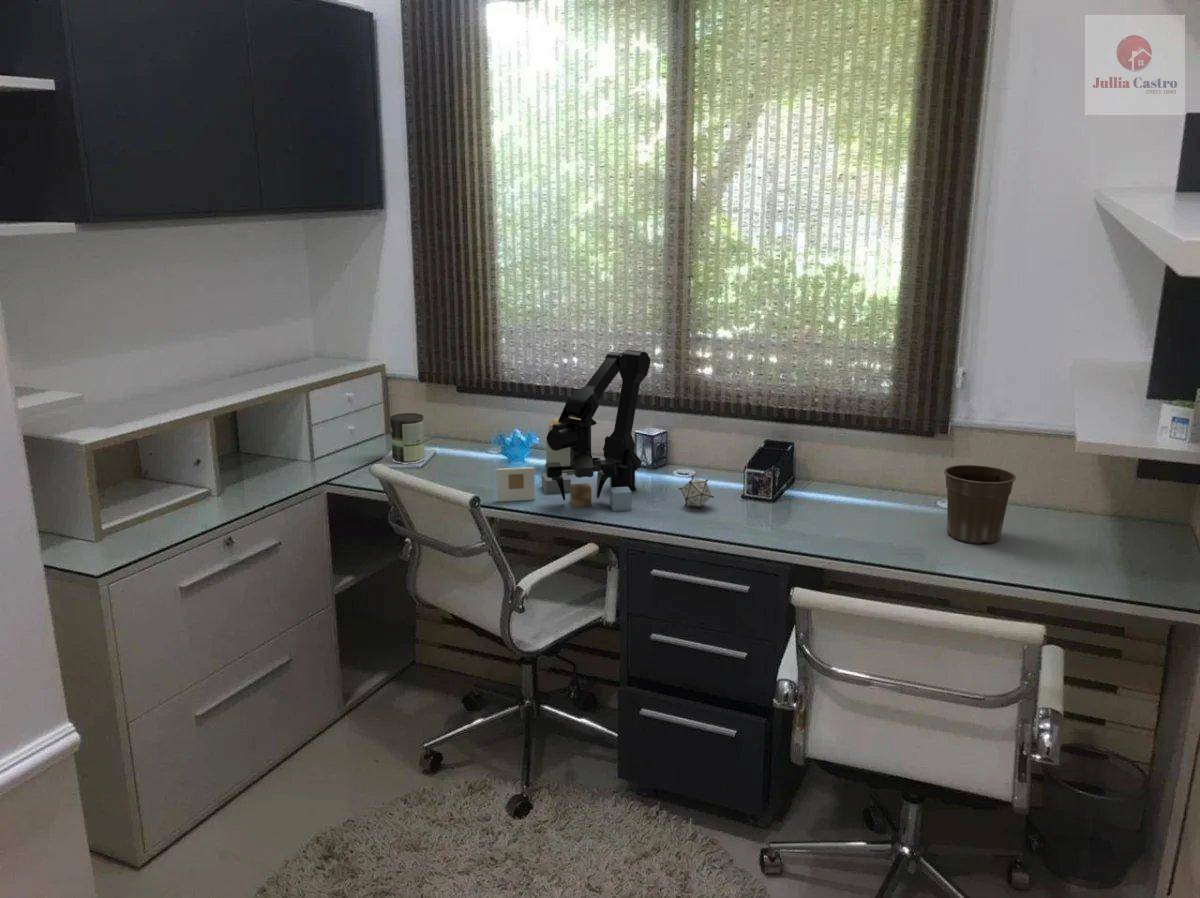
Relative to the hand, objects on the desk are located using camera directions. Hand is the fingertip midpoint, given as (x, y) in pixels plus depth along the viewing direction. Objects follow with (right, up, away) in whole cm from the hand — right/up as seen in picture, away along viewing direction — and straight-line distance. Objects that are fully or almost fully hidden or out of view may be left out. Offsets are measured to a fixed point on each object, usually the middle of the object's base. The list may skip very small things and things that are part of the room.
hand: (580, 499), depth 262 cm
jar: (-5, +7, +34) cm, 35 cm away
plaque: (-18, 0, +3) cm, 18 cm away
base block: (-7, +2, +13) cm, 15 cm away
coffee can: (-55, +10, +43) cm, 71 cm away
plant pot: (+97, -8, -25) cm, 100 cm away
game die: (+31, -2, -3) cm, 31 cm away
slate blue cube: (+11, -2, -3) cm, 11 cm away
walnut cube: (0, -1, 0) cm, 1 cm away
